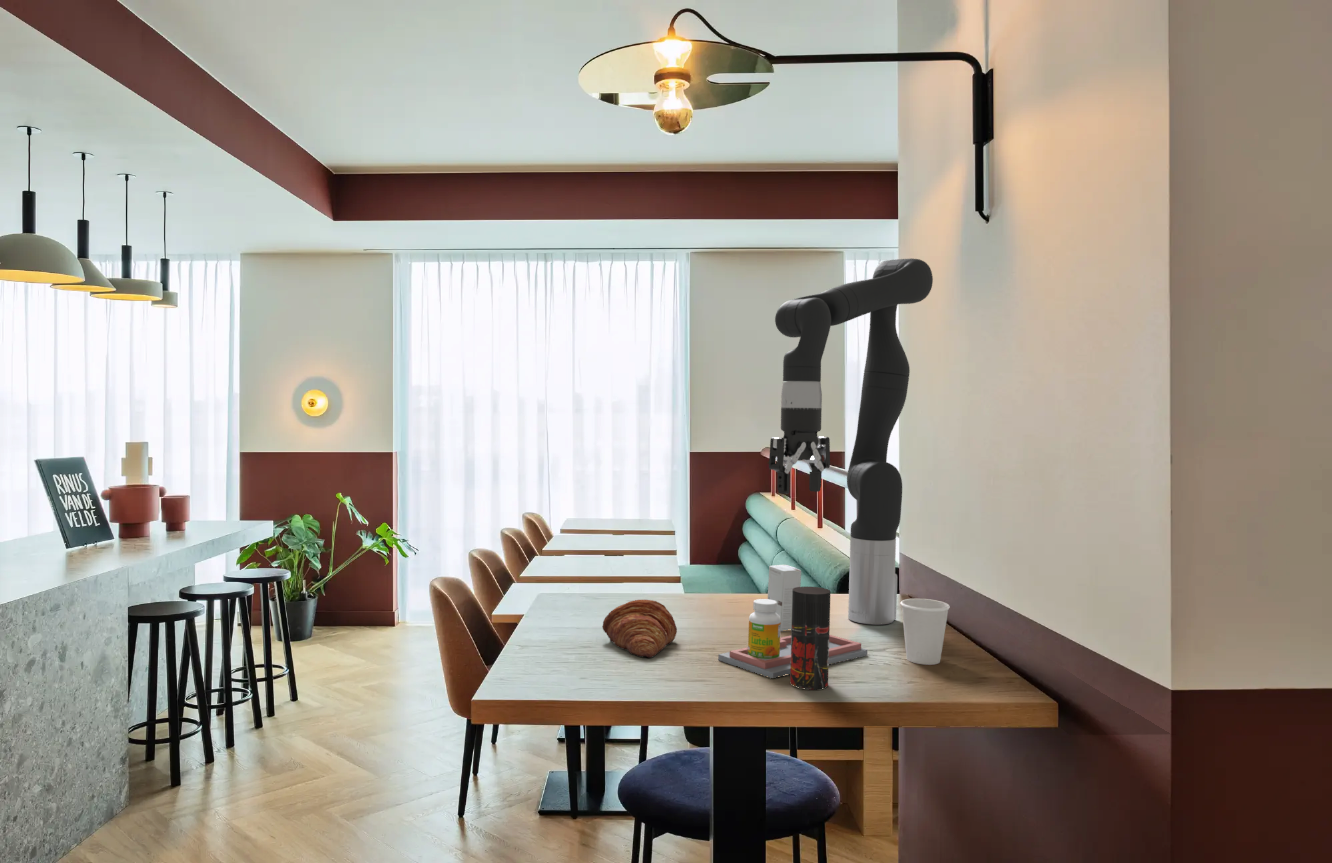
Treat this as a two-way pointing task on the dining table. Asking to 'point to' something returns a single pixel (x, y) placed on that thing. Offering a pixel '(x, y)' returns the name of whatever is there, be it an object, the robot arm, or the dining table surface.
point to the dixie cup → (924, 629)
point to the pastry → (640, 627)
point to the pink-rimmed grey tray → (781, 666)
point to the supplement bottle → (764, 630)
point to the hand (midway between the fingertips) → (799, 492)
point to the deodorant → (810, 637)
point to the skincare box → (783, 591)
